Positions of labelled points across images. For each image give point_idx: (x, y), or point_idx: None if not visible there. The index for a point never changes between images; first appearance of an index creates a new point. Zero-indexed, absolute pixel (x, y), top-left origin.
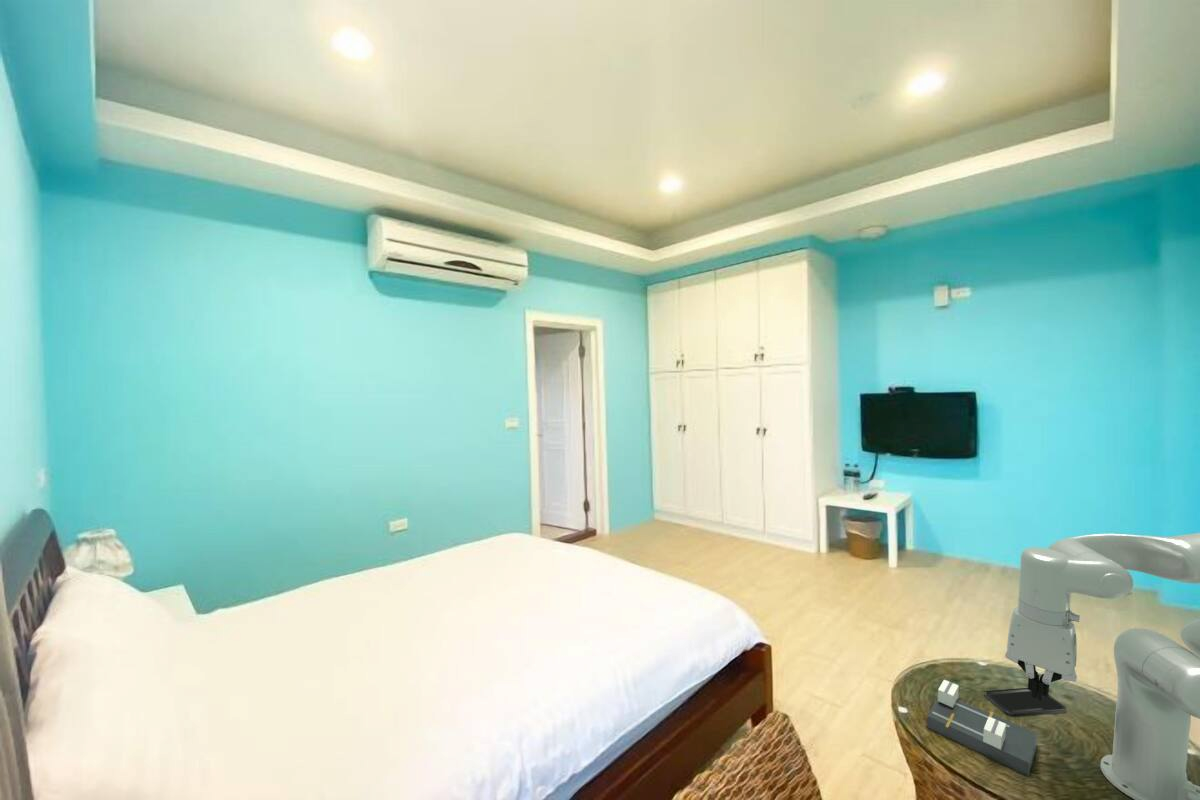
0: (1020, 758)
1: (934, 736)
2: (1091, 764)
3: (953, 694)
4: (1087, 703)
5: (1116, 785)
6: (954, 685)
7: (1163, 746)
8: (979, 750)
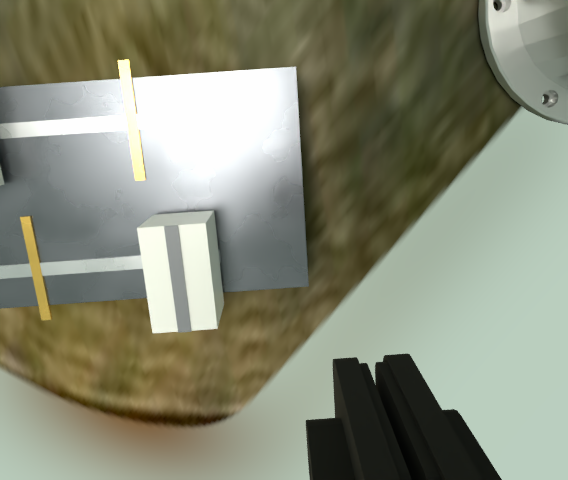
0: (281, 284)
1: (39, 313)
2: (450, 24)
3: None
4: None
5: (523, 105)
6: None
7: None
8: None
